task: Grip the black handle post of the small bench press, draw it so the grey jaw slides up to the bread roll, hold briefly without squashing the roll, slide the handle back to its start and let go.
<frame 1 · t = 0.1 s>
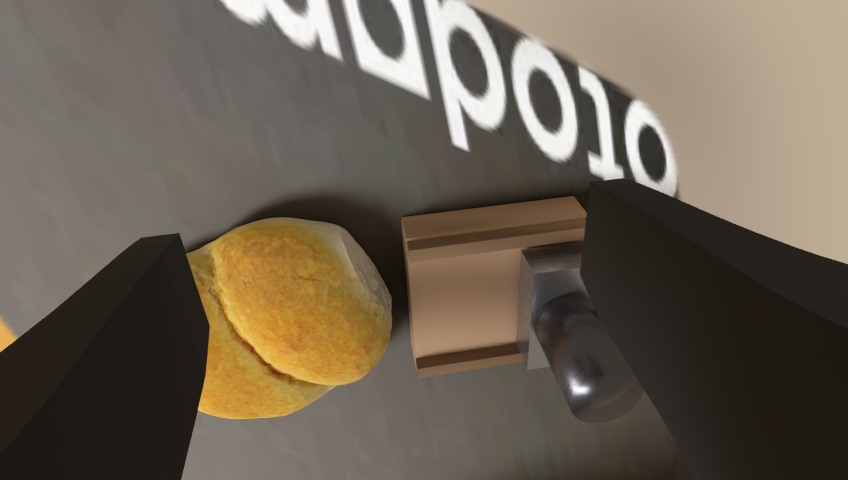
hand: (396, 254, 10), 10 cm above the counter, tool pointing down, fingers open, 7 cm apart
bread roll: (276, 295, 23), on the counter
jaw: (576, 340, 20), point 4 cm above the counter, slide at 0.0 cm
press bed: (487, 274, 24), on the counter
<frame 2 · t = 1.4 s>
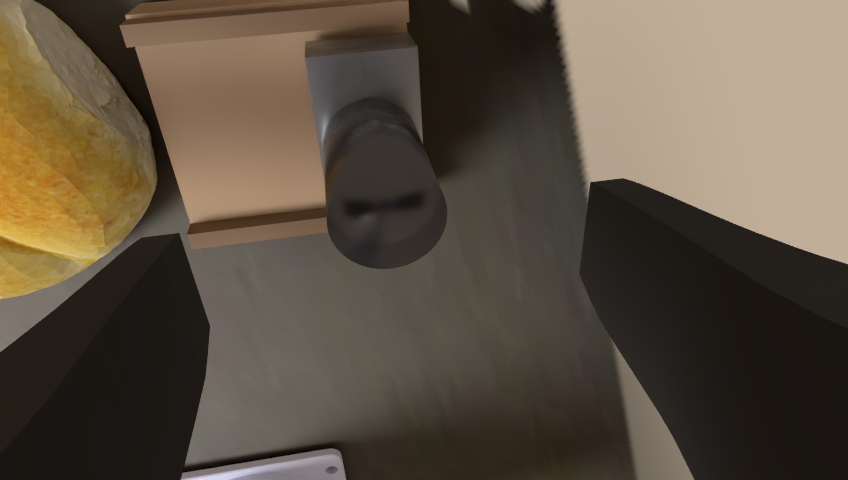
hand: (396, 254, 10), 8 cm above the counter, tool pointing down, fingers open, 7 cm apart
jaw: (375, 163, 14), point 4 cm above the counter, slide at 0.0 cm
press bed: (292, 108, 17), on the counter
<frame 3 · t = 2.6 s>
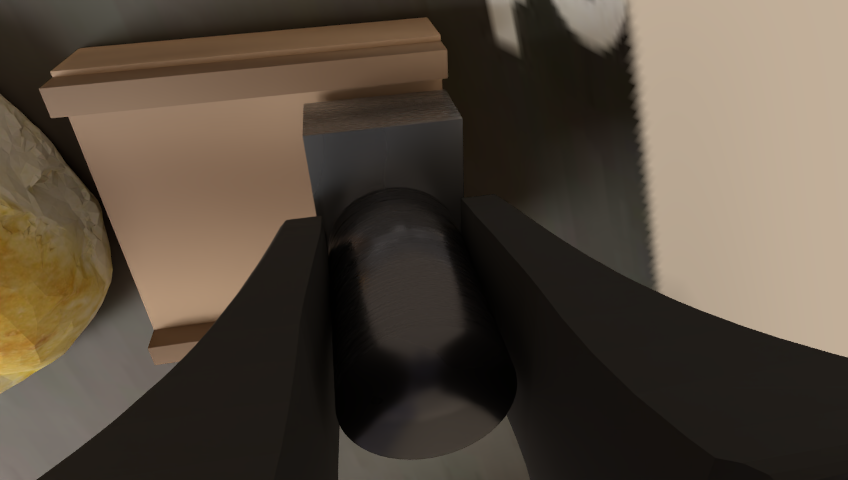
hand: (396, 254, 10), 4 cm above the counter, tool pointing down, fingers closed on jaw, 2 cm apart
jaw: (402, 281, 10), point 4 cm above the counter, slide at 0.0 cm, touching gripper
press bed: (287, 178, 13), on the counter
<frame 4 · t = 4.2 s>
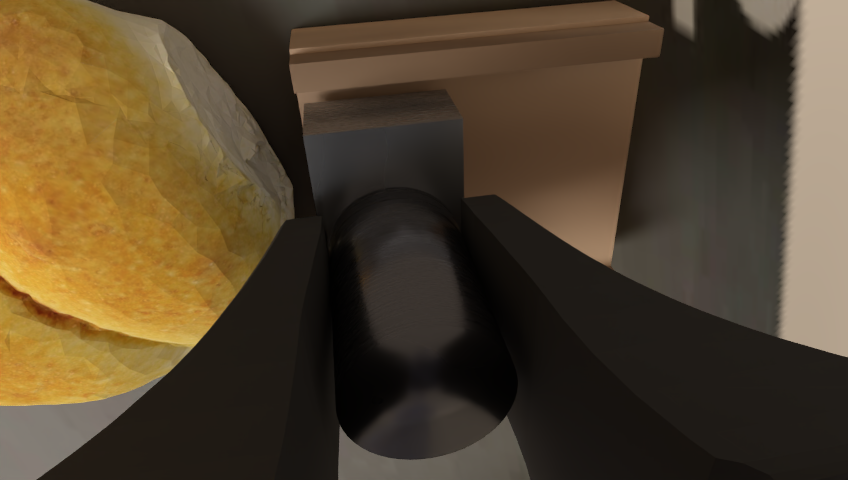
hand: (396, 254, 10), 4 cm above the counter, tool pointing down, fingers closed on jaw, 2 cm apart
bread roll: (88, 186, 13), on the counter
jaw: (402, 281, 10), point 4 cm above the counter, slide at 4.0 cm, touching gripper
press bed: (460, 157, 14), on the counter
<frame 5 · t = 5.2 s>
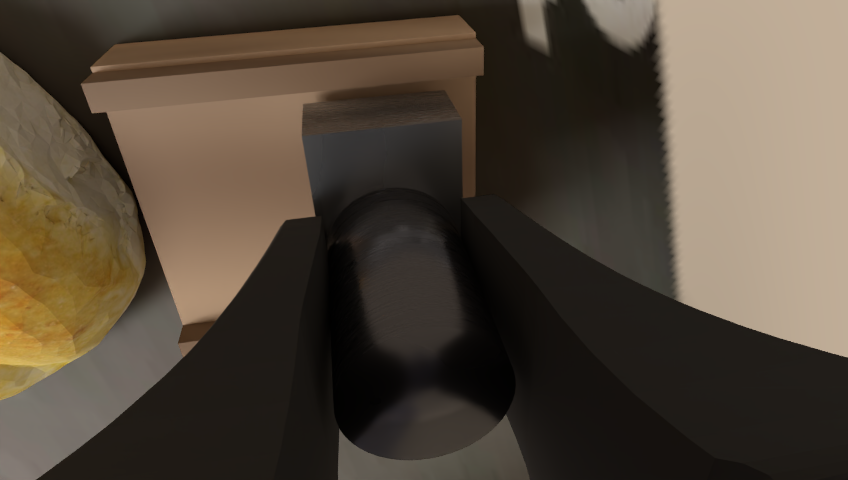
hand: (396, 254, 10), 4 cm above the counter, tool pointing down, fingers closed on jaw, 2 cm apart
jaw: (401, 281, 10), point 4 cm above the counter, slide at 0.7 cm, touching gripper
press bed: (316, 174, 13), on the counter
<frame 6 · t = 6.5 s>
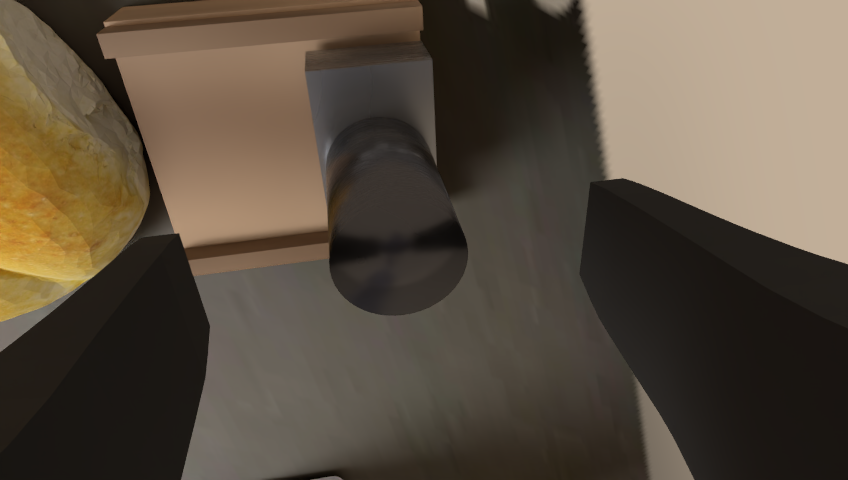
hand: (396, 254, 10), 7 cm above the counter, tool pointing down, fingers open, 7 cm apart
jaw: (384, 190, 12), point 4 cm above the counter, slide at 0.0 cm
press bed: (292, 122, 16), on the counter
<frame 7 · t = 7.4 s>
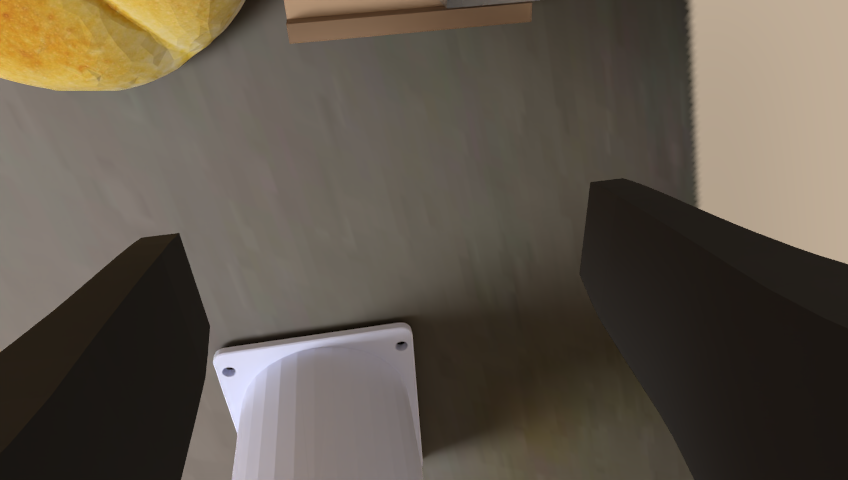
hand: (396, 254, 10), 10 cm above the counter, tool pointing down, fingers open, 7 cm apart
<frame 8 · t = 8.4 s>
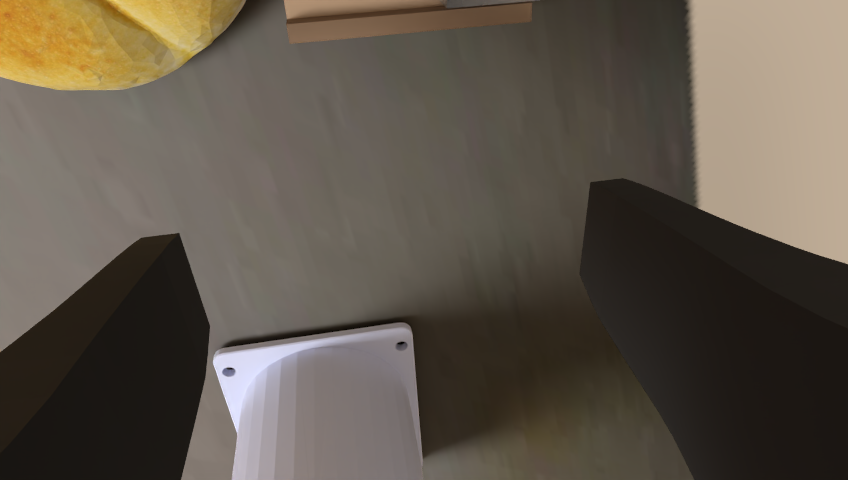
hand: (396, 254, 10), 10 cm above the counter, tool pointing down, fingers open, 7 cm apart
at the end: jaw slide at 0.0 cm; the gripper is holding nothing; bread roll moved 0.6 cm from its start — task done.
